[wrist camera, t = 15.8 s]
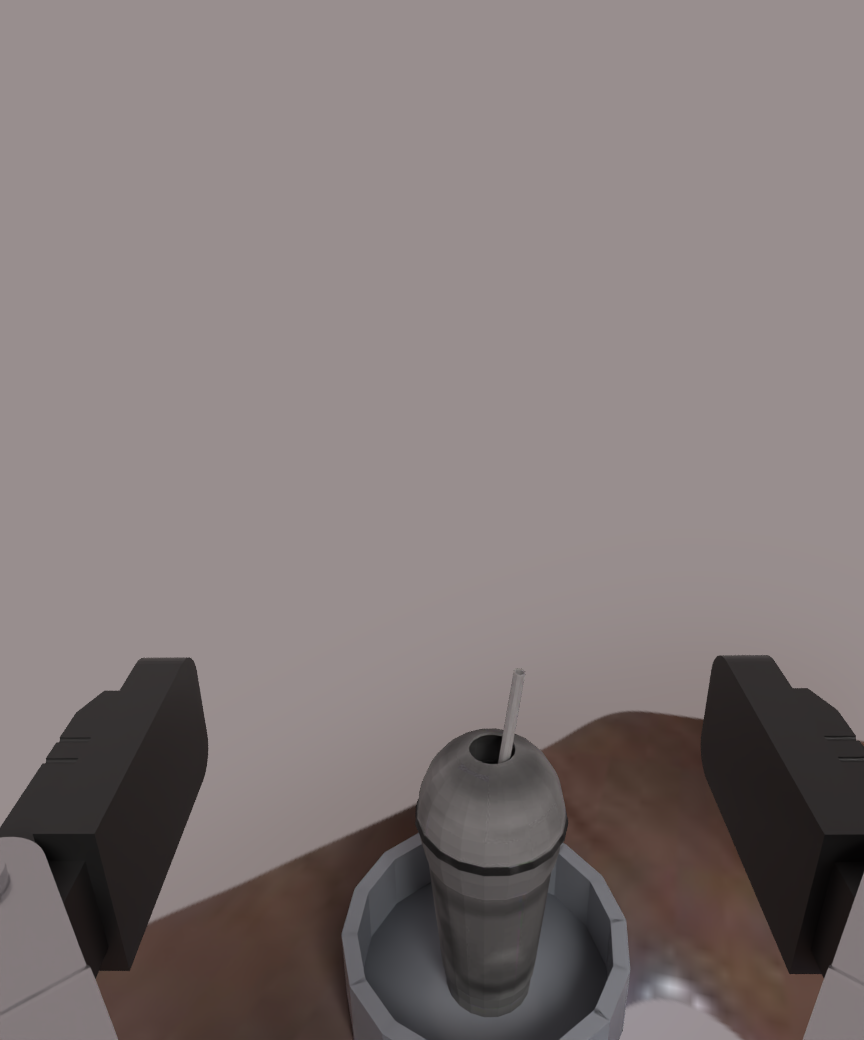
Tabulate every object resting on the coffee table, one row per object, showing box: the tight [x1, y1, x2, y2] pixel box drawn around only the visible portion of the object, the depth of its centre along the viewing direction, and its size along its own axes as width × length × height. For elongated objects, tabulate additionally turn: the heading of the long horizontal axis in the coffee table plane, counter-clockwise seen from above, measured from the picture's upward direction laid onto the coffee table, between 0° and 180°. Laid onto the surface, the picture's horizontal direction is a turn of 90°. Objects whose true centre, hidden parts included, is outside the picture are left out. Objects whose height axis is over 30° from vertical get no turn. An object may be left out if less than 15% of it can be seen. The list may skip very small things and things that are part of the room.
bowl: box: [341, 833, 630, 1040], centre depth 42 cm, size 15×15×4 cm
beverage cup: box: [416, 668, 568, 1017], centre depth 39 cm, size 7×7×20 cm
